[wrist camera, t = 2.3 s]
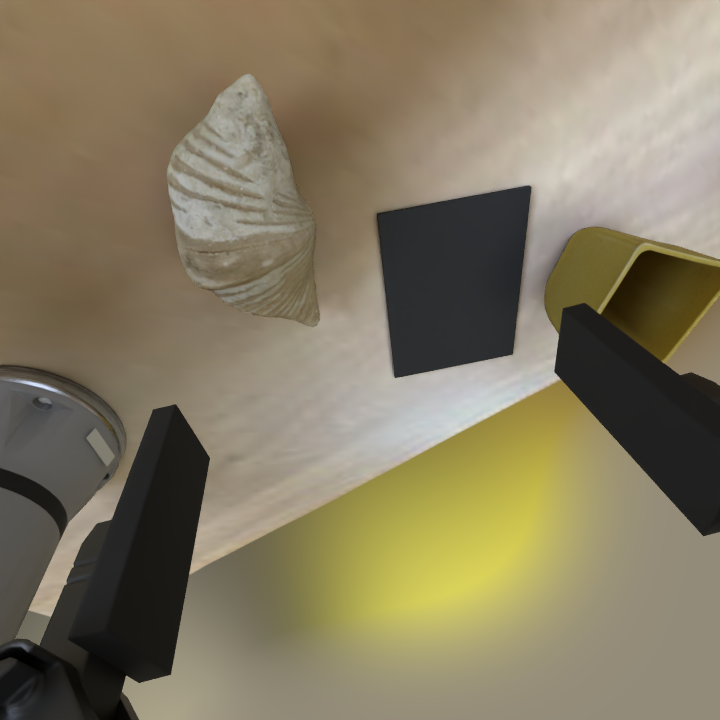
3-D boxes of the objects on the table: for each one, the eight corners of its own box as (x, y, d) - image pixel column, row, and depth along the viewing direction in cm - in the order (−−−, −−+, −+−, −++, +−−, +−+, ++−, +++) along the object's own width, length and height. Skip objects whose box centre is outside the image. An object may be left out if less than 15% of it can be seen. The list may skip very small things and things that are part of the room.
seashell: (358, 326, 30) (260, 346, 22) (266, 326, 35) (157, 343, 27) (346, 116, 28) (229, 48, 19) (248, 148, 32) (122, 104, 24)
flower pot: (515, 300, 37) (570, 356, 30) (563, 204, 33) (643, 242, 25) (593, 314, 40) (662, 369, 32) (648, 225, 35) (744, 266, 28)
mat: (394, 375, 40) (395, 378, 40) (376, 213, 31) (377, 214, 31) (511, 352, 41) (512, 354, 40) (529, 185, 31) (531, 186, 31)
